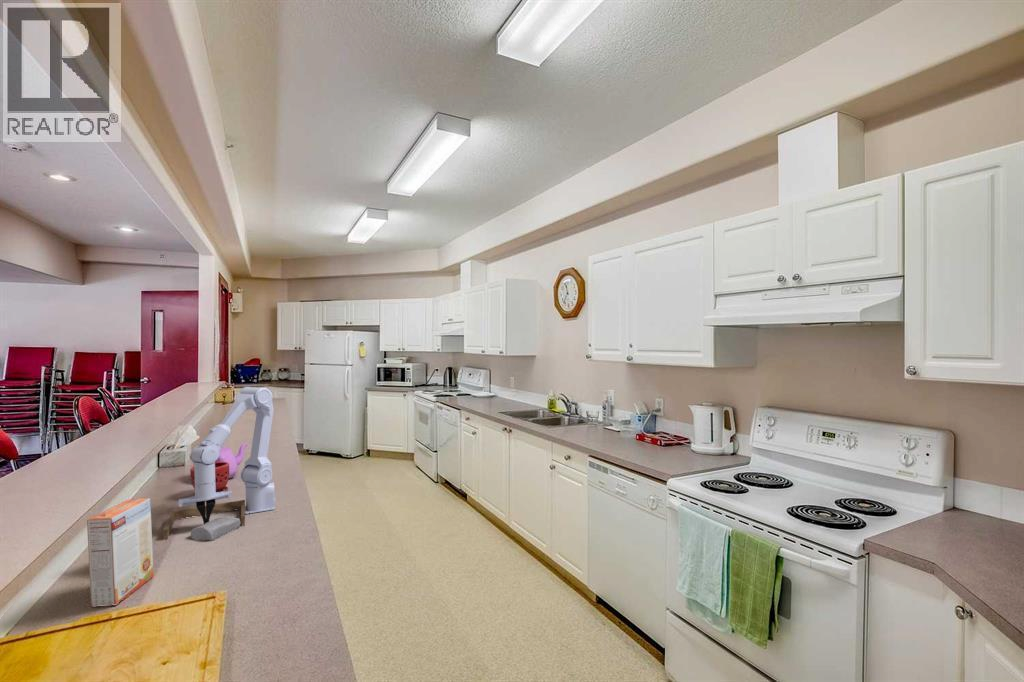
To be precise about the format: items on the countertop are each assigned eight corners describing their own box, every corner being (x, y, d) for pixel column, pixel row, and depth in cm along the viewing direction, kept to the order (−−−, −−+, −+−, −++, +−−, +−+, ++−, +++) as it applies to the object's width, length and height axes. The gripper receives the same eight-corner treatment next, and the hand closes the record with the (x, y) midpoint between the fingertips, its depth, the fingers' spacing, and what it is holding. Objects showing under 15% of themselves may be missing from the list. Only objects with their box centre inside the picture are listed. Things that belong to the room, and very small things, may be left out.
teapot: (200, 489, 202) (199, 452, 201) (189, 479, 217) (188, 445, 217) (260, 477, 218) (259, 443, 217) (245, 468, 233) (244, 436, 232)
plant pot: (236, 489, 200) (235, 460, 200) (218, 500, 187) (217, 469, 187) (203, 490, 200) (203, 461, 200) (183, 501, 187) (182, 470, 187)
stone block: (187, 545, 151) (213, 541, 149) (185, 529, 151) (211, 525, 149) (219, 531, 163) (243, 527, 160) (216, 517, 163) (241, 513, 161)
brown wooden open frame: (245, 507, 178) (244, 499, 178) (244, 525, 161) (244, 516, 161) (171, 519, 168) (171, 511, 168) (163, 539, 151) (163, 530, 151)
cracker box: (130, 578, 127) (127, 498, 126) (154, 577, 127) (152, 497, 127) (88, 608, 113) (85, 518, 113) (115, 607, 113) (113, 517, 113)
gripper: (229, 475, 167) (230, 515, 167) (178, 483, 159) (179, 525, 159) (231, 480, 161) (232, 521, 161) (178, 488, 153) (179, 532, 153)
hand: (206, 523), depth 160 cm, fingers closed
